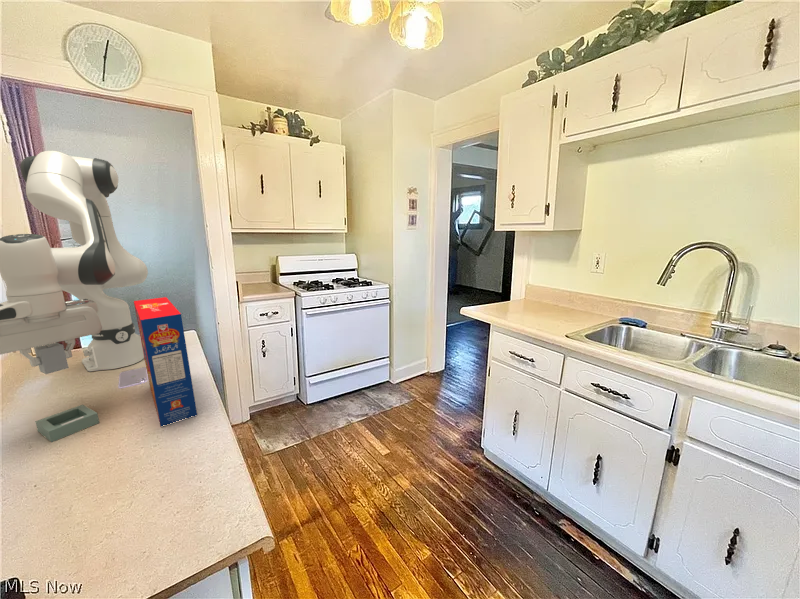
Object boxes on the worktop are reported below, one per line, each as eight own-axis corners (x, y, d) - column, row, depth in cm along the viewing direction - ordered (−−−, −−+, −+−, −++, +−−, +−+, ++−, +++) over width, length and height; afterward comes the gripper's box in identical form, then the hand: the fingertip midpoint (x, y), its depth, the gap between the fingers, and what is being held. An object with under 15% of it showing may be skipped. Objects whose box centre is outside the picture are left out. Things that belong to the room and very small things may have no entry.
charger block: (40, 371, 80) (33, 346, 79) (62, 365, 84) (56, 341, 82) (45, 374, 78) (39, 349, 77) (68, 368, 82) (63, 343, 80)
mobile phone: (146, 365, 120) (148, 380, 109) (147, 368, 120) (148, 383, 109) (119, 371, 116) (117, 387, 104) (119, 374, 116) (118, 390, 104)
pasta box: (150, 388, 105) (133, 301, 99) (180, 380, 110) (166, 297, 104) (160, 427, 84) (140, 320, 78) (197, 415, 89) (180, 313, 83)
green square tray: (37, 431, 83) (35, 420, 82) (84, 413, 90) (82, 404, 90) (51, 442, 78) (48, 431, 78) (99, 422, 86) (97, 412, 85)
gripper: (90, 296, 88) (100, 346, 91) (-34, 313, 71) (-16, 374, 73) (100, 298, 85) (111, 349, 88) (-27, 316, 68) (-8, 380, 70)
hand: (52, 361), depth 80 cm, fingers closed on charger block, 4 cm apart
